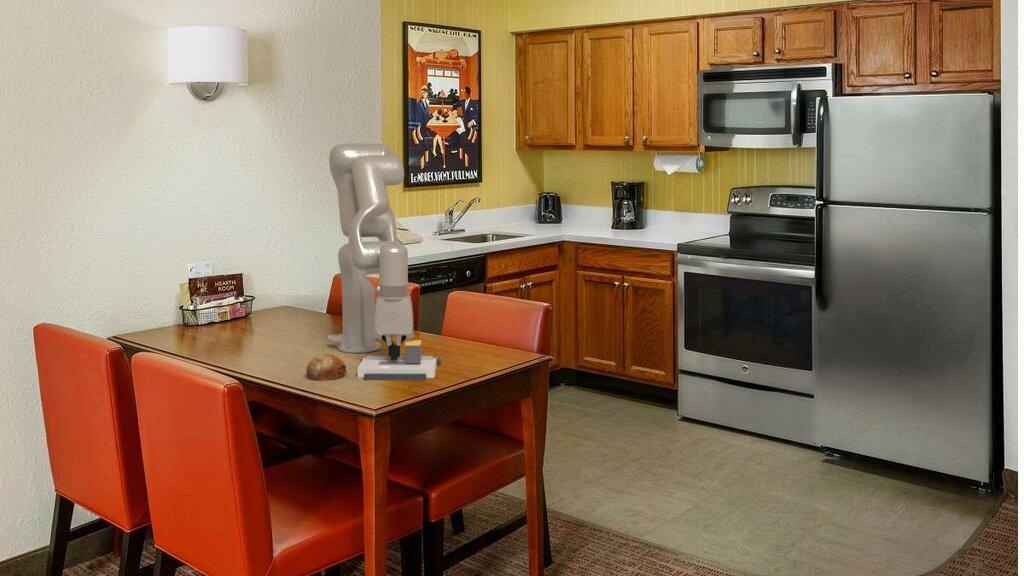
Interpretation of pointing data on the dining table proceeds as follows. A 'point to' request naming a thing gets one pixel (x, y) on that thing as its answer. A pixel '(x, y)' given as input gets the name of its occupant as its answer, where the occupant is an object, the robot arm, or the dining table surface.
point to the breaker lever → (413, 351)
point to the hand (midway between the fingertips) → (394, 359)
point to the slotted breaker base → (397, 366)
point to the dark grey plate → (397, 375)
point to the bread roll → (325, 368)
